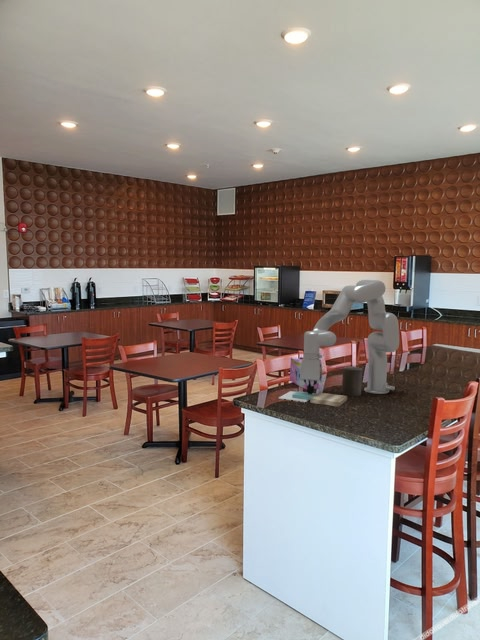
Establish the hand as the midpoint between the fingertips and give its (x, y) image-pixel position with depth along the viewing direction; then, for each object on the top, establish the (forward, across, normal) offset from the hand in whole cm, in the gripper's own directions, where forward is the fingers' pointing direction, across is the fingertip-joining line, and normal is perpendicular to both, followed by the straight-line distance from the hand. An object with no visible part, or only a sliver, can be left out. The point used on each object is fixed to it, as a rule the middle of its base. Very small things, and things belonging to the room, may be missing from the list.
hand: (310, 393), depth 238 cm
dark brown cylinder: (+3, -15, -20) cm, 25 cm away
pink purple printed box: (+3, +14, -29) cm, 32 cm away
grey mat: (+3, +7, 0) cm, 7 cm away
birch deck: (+3, -9, 0) cm, 10 cm away
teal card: (+2, +3, 0) cm, 4 cm away
